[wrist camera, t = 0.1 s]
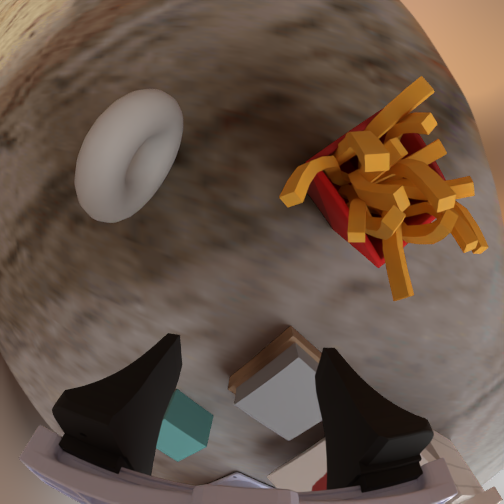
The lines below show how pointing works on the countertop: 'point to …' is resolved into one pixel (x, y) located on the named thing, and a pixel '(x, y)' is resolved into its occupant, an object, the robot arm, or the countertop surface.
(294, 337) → the block
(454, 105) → the countertop surface
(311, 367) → the tower top
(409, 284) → the french fries
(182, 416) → the teal cube
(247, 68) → the countertop surface
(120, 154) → the donut
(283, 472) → the stacked pizza boxes
